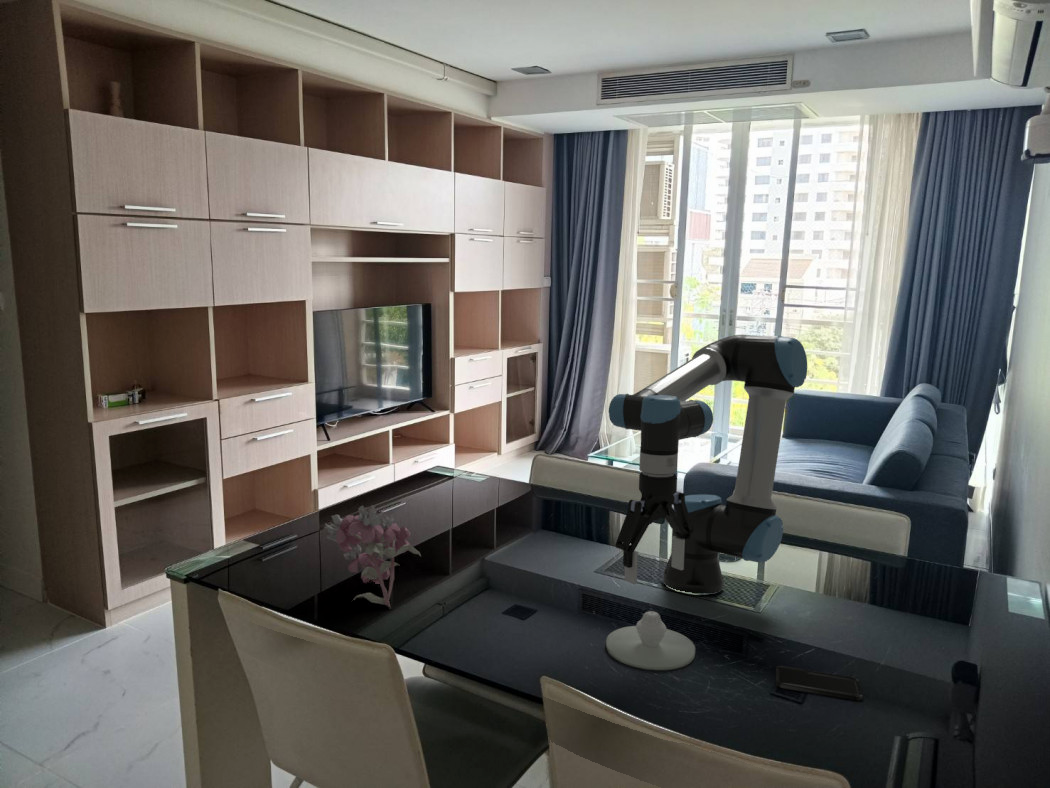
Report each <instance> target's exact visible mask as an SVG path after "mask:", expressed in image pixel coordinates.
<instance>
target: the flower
mask: <svg viewBox="0 0 1050 788" xmlns="http://www.w3.org/2000/svg"><path fill="white" fill-rule="evenodd" d="M375 508H376V504H375V505H370V507H369V506H368V508H367V506H366V507H364V504H363V505H360V506H359V507H358V513H359V514H358V515H355V516H354V514H353V515H352V514H351V515H350V514H348V515H345V517H344V518H341V516H340V515H339V514H334V515H330V516H331V518H332V519H330V521H331V522H333V523H331V522H330V521H329V522H328V523H329V524H327V523H324V525H325V526H324V527H323V529H324V530H325V529H326V530H327V532H328V535H327V536H326V539H328V540H331V541H333V542H336V543H337V544H338V545H339V549H340V550H342V552H344V553H343V556H344V559H345V560H347V561H349V562H350V561H351V562H350V563H349V565H348V567H347V570H348V571H349V572H350V573H359V565H360V566H362V567H361V569H362V572H361V574H360V578H361V580H362V582H363V583H364V584H368V583H370V582H372V581H373V582H375V584H380V589H381V591H382V595H383V597H380V596H377V595H376V594H374V593H372V592H365V593H362V594H361V593H360V594H358V595H356V596H355V597H354V598H353V600H354V601H356V600H357V599H362V598H363V599H366V600H367V601H369V602H371V603H374V604H379V605H385V606H387V608H389V609H391V604H390V598H391V593H392V590H393V586H394V581H395V567H396V566H400V564H399V563H397V562H395V557H397V556H399V555H402V554H404V553H406V552H407V551H409V552H410V553H412V554H413V555H414V554H415V555H419V557H422V555H421V552H420V551H418V550H417V549H416V548H415V547H413V546H412V545H411V544H410V542H409V541H407V540H406V539H408V538H410V537H411V532H410V531H409V529H408V528H407V527H406V526H400V527H399V526H398V524H397V523H396V522H394V519H395V516H394V513H393V512H392V513H391V515H390V516H388V514H385V512H384V510H382V509H380V510H379V512H380V513H377V510H376V509H375ZM361 543H363V546H364V547H365V552H363V553H362V546H360V544H361ZM350 544H351V545H352V547H351V546H350ZM384 544H386V545H385V546H384ZM375 553H378V557H376V555H375ZM384 556H386V557H387V558H389V559H390V561H389V560H385V559H383V558H384ZM400 567H401V566H400ZM388 579H389V583H388V590H387V588H386V586H385V582H384V580H388ZM370 580H371V581H370ZM369 581H370V582H369ZM367 582H368V583H367ZM353 600H352V601H353Z"/></svg>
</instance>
